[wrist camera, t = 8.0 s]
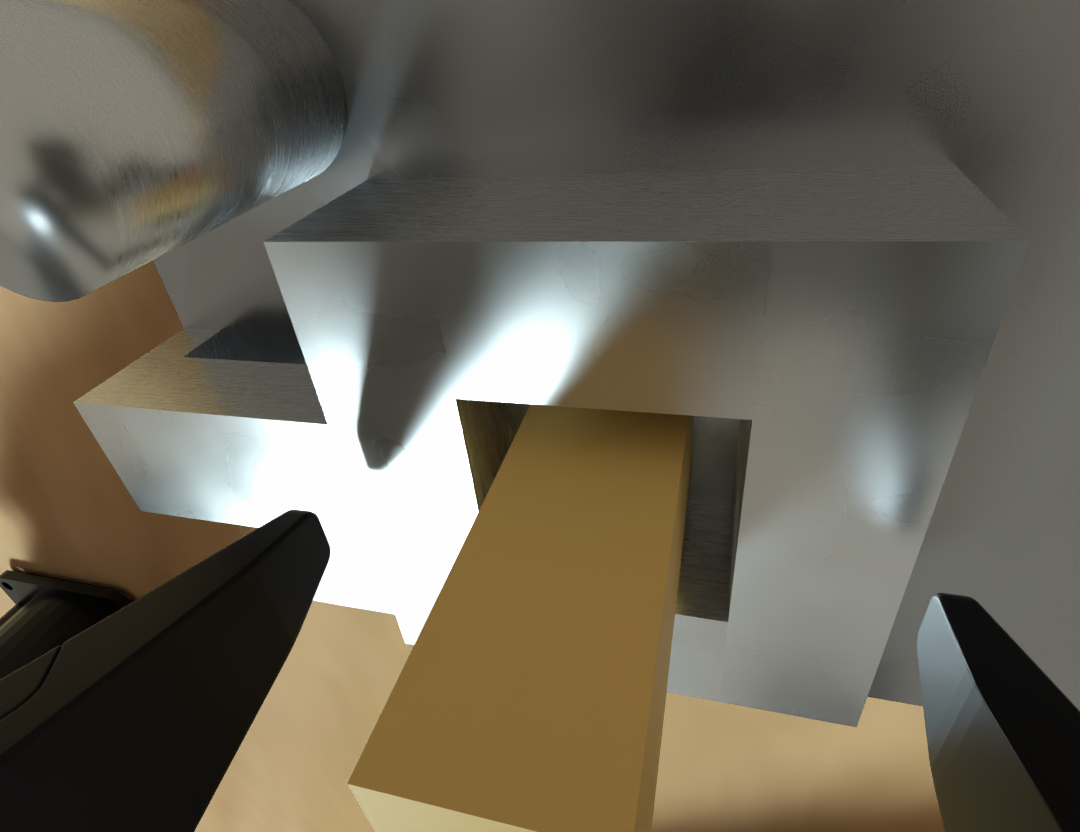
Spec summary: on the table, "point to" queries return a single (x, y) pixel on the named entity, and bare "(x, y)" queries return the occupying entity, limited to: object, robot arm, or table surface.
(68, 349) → the table surface
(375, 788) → the pale yellow rectangular prism
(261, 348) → the gray tray
